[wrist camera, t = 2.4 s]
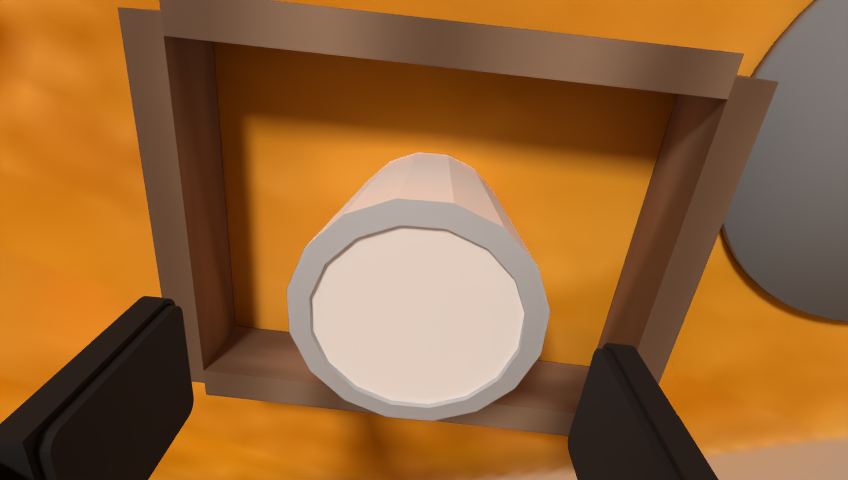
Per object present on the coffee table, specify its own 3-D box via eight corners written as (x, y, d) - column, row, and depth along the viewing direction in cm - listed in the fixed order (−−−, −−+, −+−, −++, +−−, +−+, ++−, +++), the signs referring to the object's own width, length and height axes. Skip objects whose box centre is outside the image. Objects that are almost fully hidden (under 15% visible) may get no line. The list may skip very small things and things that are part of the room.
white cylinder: (398, 321, 20) (375, 454, 14) (306, 189, 18) (230, 277, 12) (544, 253, 19) (593, 370, 12) (463, 99, 16) (473, 145, 10)
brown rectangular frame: (728, 53, 15) (788, 58, 13) (611, 390, 21) (634, 443, 19) (173, -10, 15) (114, -18, 13) (210, 344, 21) (176, 391, 19)
